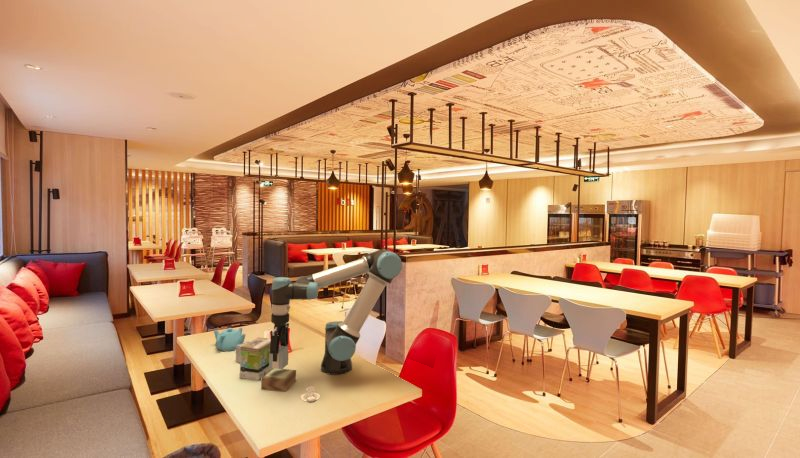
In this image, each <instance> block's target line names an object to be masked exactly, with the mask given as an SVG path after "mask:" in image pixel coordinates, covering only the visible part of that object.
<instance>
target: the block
mask: <svg viewBox="0 0 800 458" xmlns="http://www.w3.org/2000/svg"><path fill="white" fill-rule="evenodd" d="M289 349H290V348H289V345H287V346H280V345H279V351H278V353H279V368H278V369H285V367H286V366H288V365H289V351H290V350H289ZM272 357H273V354H270V352H269V368H272Z"/></svg>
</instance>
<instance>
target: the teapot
mask: <svg viewBox="0 0 800 458" xmlns="http://www.w3.org/2000/svg"><path fill="white" fill-rule="evenodd" d="M213 332H214V333H213V334H214V337H215V348H217V350H219V351H222V352H232V351H236V345H239V344H242V343H245V339H246V336H247V335H246V333H243V327H239V328H238V329H233V327H227V328H226V329H224V330H222V331H221V332H219V331H218V330H217V329H216V330H214V331H213Z"/></svg>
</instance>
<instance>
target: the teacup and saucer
mask: <svg viewBox="0 0 800 458" xmlns="http://www.w3.org/2000/svg"><path fill="white" fill-rule="evenodd" d="M305 389H306V390H305V391H306V392H305V393H303V394H301V395H300V396H299V398H300V400H301V401H303V402H314V401H318V400H319V399H320V398H321V395H320V394H319V393H317V392H315V387H314V386H308V387H306V388H305ZM305 396H306V399H305Z"/></svg>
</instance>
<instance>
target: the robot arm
mask: <svg viewBox="0 0 800 458" xmlns="http://www.w3.org/2000/svg"><path fill="white" fill-rule="evenodd" d="M402 268H403V262H402V259H401V257H400V256H399V255H398V254H397V253H395V252H393V251H390V250H388V249H385V248H384V249H378V250H375V251H373V252H369V253H368V254H367V253H366V254H363V255H362V257H361V258H359V259H356V260H353V261H349V262H346V263H343V264H340V265H337V266H335V267H331V268H327V269H324V270H321V271H319V272H316V273H313V274H309V275H304V276H303V275H301V276H299V277H298V278H296V281H295V282H292V281H291V279H290V277H285V276H281V277H279V276H278V277H275V278H273V280H272V284H271V285H272V286H271V311H270V313H271V316H270V317H271V318H270V321H271V323H272V324H273V325H274V326H273V330H270V339H271V341H270V354H273V357H272V368H275V369H278V368H279V353H278V351H279V346H289V329H290V328H289V327H290V324H289V321H290V313H289V312H290V309H291V306H290V304H291V303H290V301H291V300H316V299H317V298H318V292H319V289H322V288H325V287H328V286H331V285H335V284H337V283H340V282H344V281H346V280H349V279H352V278H355V277H359V276H361V275H365V274H368V278H367V280H366V282H365V283H364V285H363V287H362V289H361V291H360V293H359V294H358V295H357V297H356V299H355V301H354V303H353V305H352V307H351V308H350V309H349V311H348V313H347V314H346V317H345V319H344V320H343V321H341V320H339V321H337V320H336V321H329V322H326V324H325V328H324V330H325V331H324V332H325V334H324V337H325V338H324V355H323V357H322V360H321V363H320V370H321V372H322V373H323V374H327V375H334V376H335V375H336V376H337V375H338V376H339V375H345V374H347V373H350V372H351V371H352V370H353V362H352V357H353V356H354V354H355V353H356V347H357V346H356V345H357V343H358V342H359V340H360V338H361V333H360V331H361V329H362V327H364V324H365V323H366V322H367V319H368V317H369V316H370V314H371V312H372V310H373V309H374V307H375V305H376V303H377V301H378V300H379V298H380V296H381V295H382V292H383V291H384V289H385V287H387V286H389V285H391V283H392V282H393V280H394V278H397V277H398V276H399V275H400V274H401V272H402Z"/></svg>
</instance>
